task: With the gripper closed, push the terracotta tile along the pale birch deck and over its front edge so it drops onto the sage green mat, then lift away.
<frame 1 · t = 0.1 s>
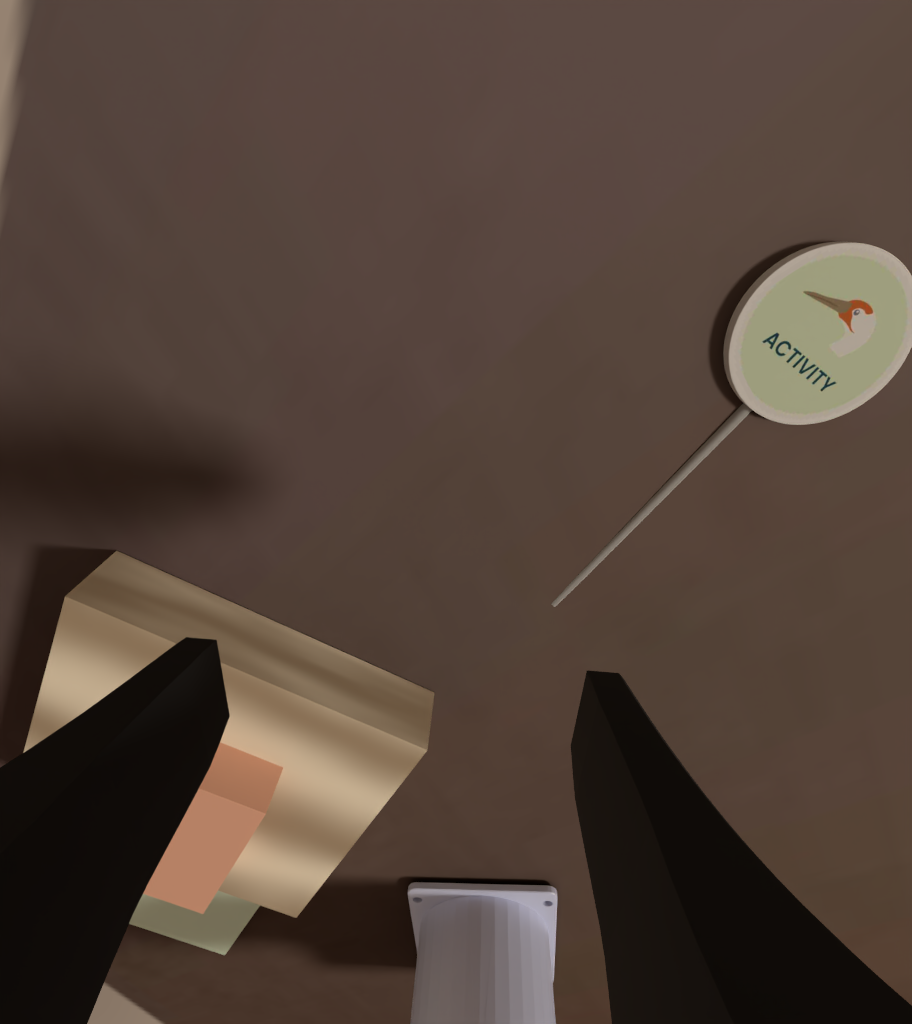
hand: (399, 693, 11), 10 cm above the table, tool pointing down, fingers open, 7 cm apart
mat: (158, 869, 32), on the table
deck: (230, 728, 26), on the table
sign: (688, 453, 20), on the table
tile: (195, 799, 24), point 3 cm above the table, touching deck
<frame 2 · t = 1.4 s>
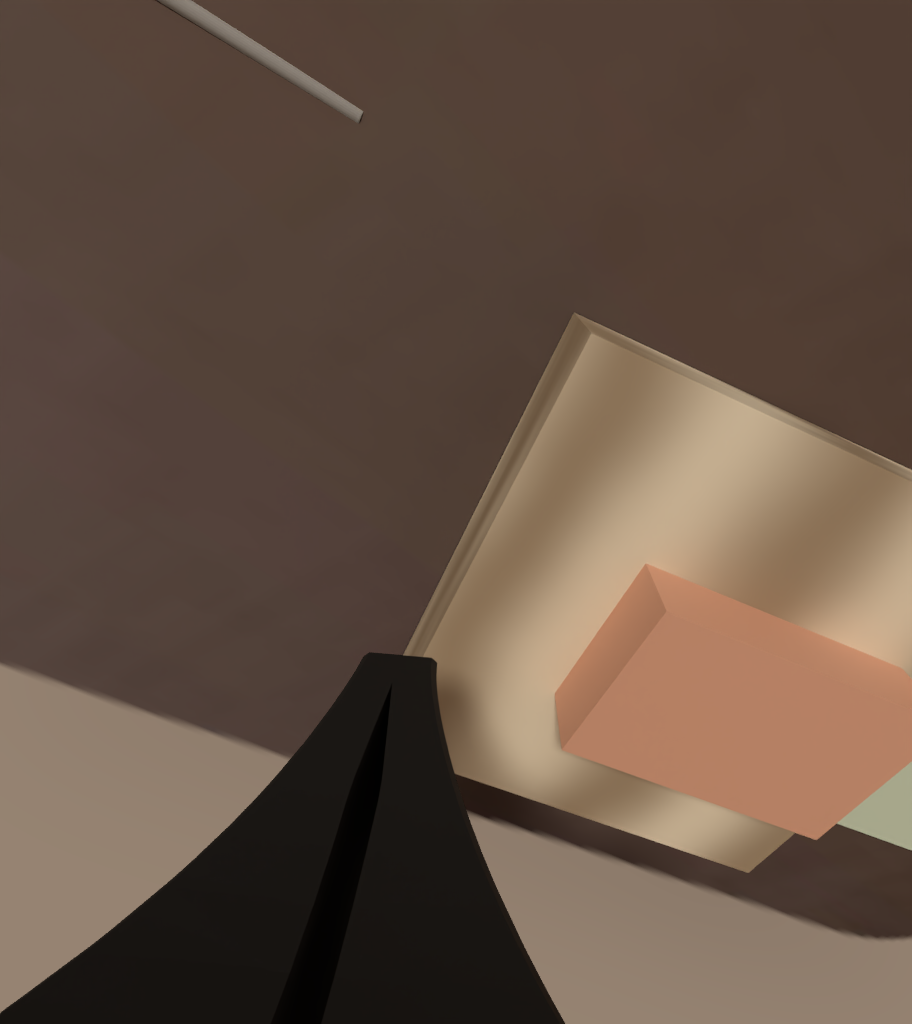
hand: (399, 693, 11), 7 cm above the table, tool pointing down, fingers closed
deck: (661, 606, 19), on the table
tile: (721, 681, 16), point 3 cm above the table, touching deck
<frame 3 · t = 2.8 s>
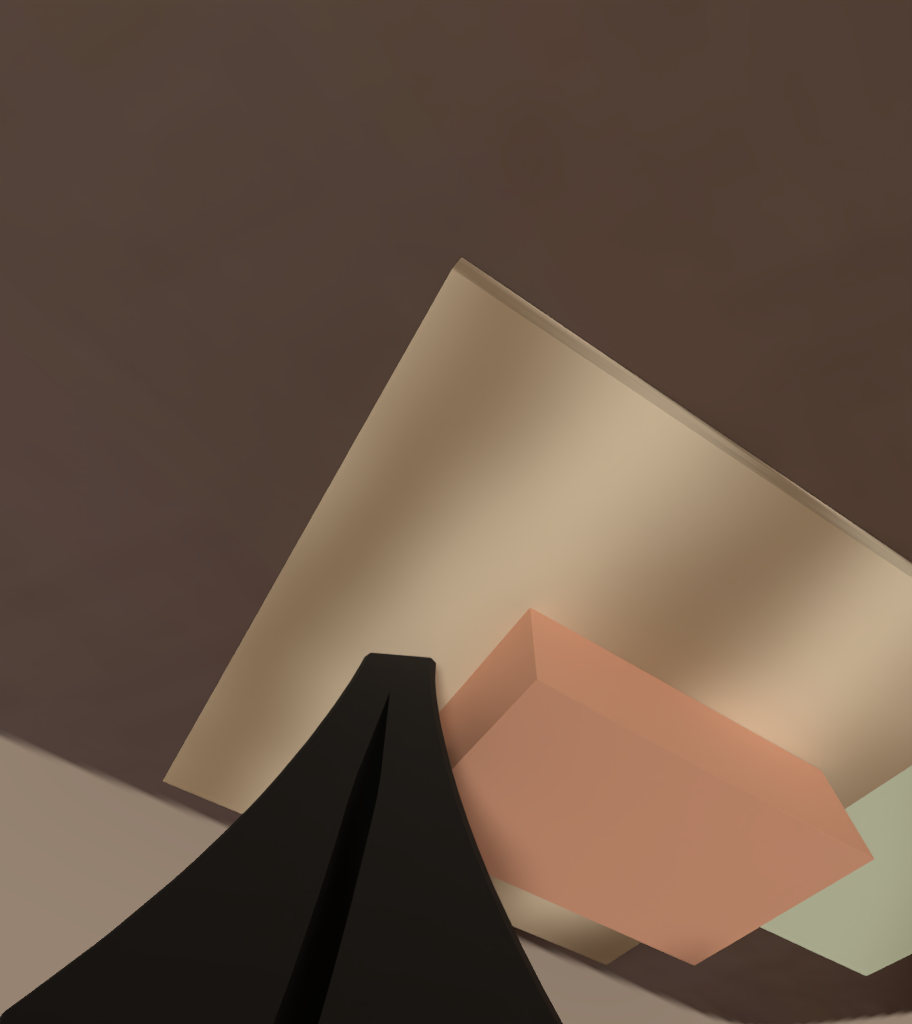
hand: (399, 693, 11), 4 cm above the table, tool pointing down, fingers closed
mat: (882, 826, 18), on the table
deck: (544, 645, 15), on the table
tile: (609, 760, 13), point 3 cm above the table, touching deck, gripper
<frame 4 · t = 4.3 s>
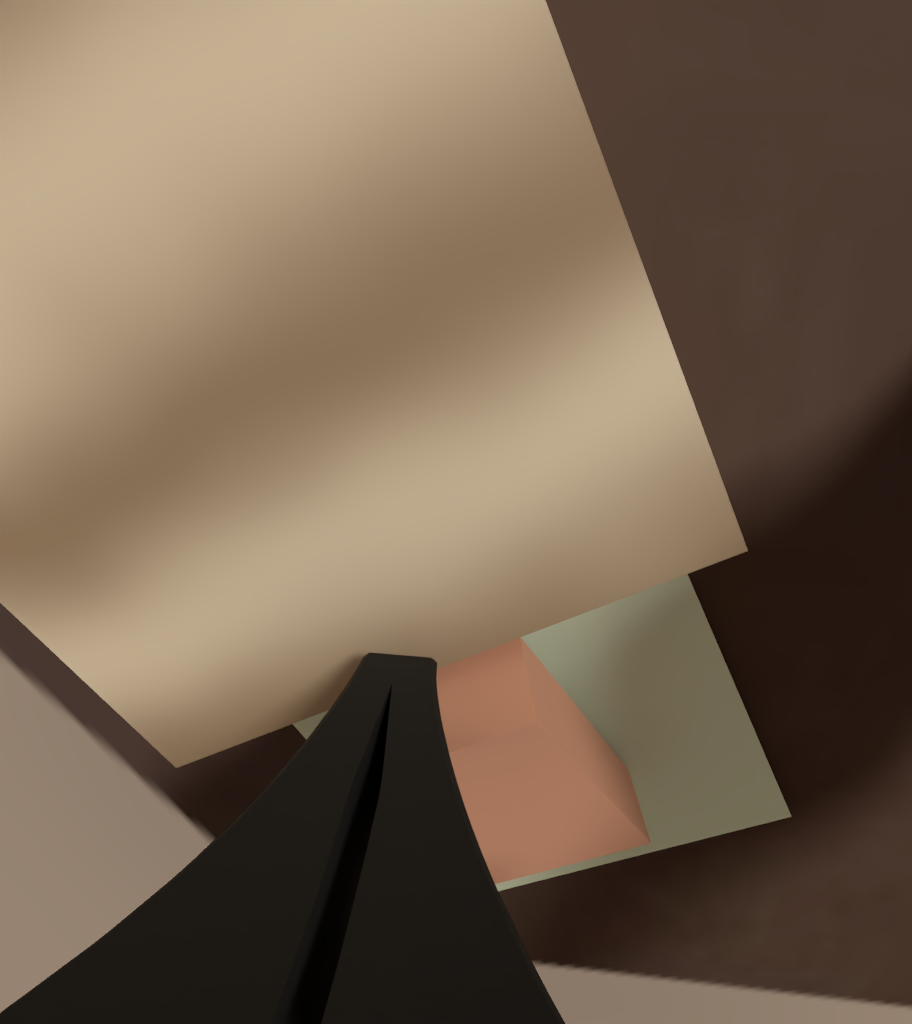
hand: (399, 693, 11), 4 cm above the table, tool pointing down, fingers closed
mat: (532, 742, 17), on the table
deck: (272, 354, 12), on the table
tile: (496, 743, 15), point 1 cm above the table, tilted 16°
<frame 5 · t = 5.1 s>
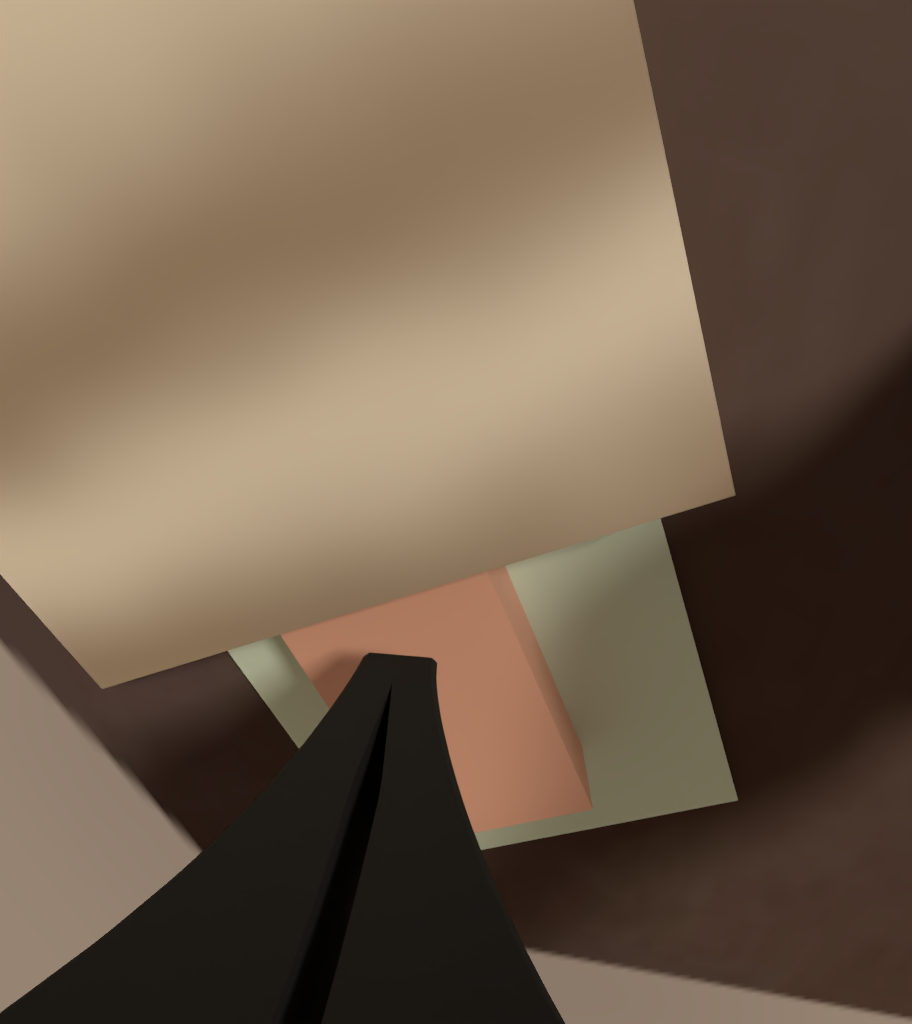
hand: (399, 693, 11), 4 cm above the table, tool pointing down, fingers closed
mat: (485, 702, 17), on the table
deck: (251, 243, 11), on the table
tile: (452, 669, 16), resting on mat
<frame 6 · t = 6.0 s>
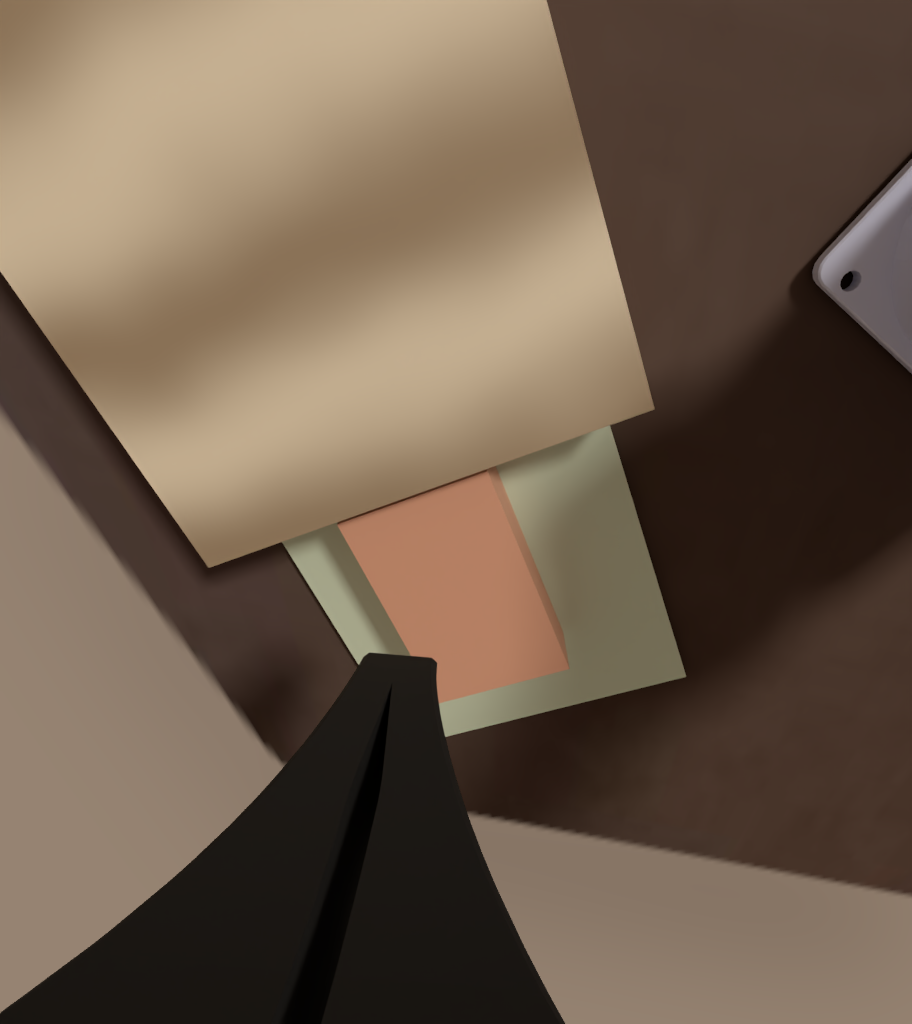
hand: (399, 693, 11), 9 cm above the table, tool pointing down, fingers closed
mat: (488, 597, 21), on the table
deck: (322, 242, 16), on the table
tile: (462, 567, 21), resting on mat
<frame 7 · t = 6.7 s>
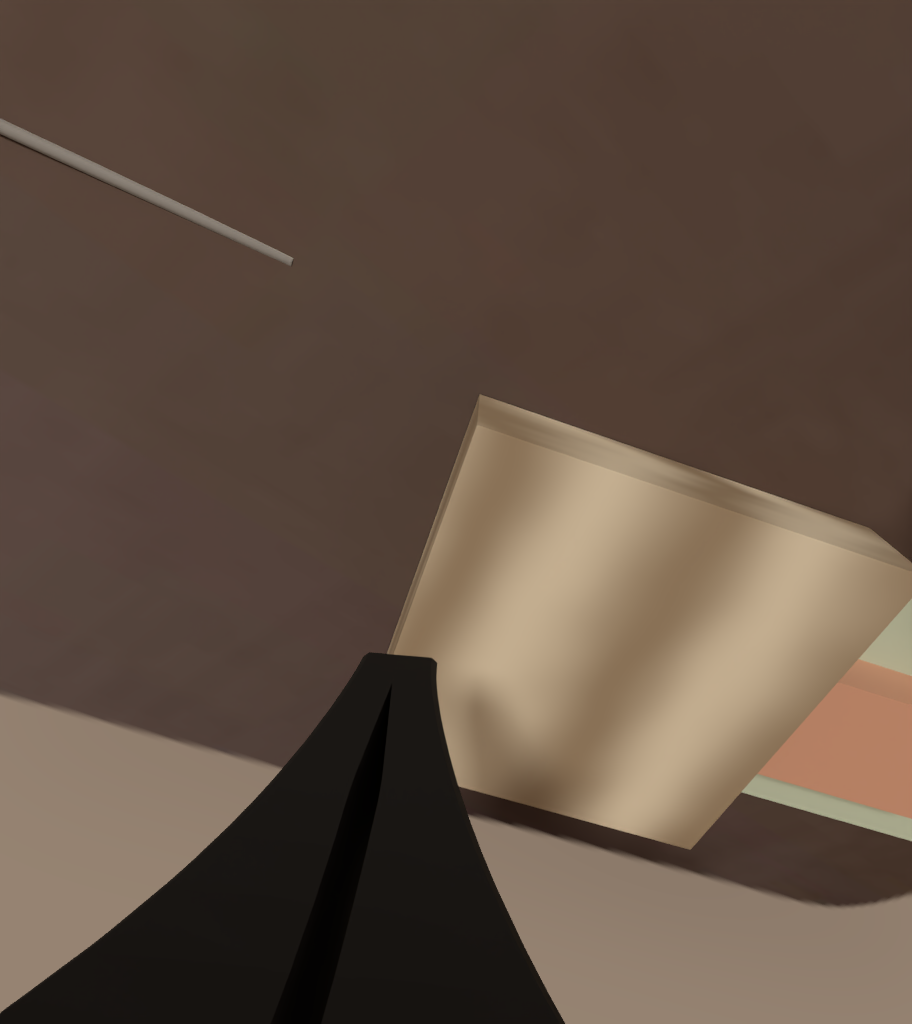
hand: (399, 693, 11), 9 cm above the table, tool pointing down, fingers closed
mat: (890, 715, 23), on the table
deck: (591, 623, 22), on the table
sign: (45, 143, 16), on the table
tile: (852, 714, 23), resting on mat
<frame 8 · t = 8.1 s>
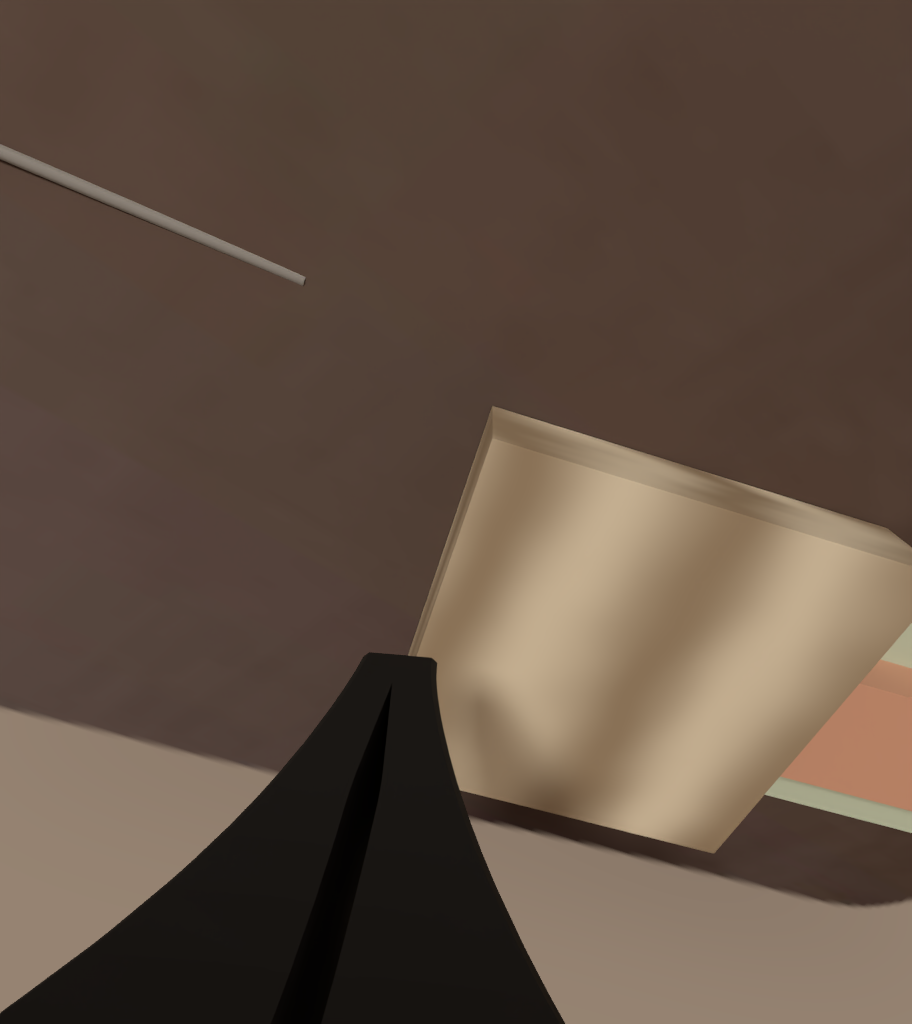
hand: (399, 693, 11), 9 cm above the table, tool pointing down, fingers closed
deck: (608, 629, 22), on the table
sign: (59, 173, 16), on the table
tile: (873, 714, 23), resting on mat
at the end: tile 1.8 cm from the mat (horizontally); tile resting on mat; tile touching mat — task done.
